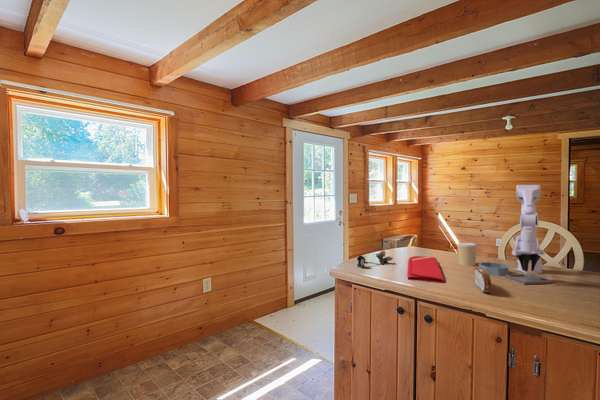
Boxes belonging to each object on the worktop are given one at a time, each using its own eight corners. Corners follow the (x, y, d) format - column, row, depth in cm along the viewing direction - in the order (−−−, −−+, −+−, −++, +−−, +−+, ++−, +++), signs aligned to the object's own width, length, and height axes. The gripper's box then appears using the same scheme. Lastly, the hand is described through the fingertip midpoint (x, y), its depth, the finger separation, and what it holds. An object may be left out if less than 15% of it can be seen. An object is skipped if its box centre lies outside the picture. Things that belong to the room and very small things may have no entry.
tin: (492, 295, 120) (492, 274, 120) (483, 295, 121) (483, 274, 121) (481, 284, 134) (481, 265, 134) (473, 283, 135) (473, 265, 135)
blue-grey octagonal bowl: (495, 269, 159) (495, 261, 159) (514, 276, 147) (515, 267, 147) (473, 270, 158) (473, 262, 157) (491, 277, 145) (491, 268, 145)
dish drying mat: (407, 280, 142) (407, 272, 142) (408, 261, 180) (408, 255, 180) (444, 284, 136) (444, 276, 136) (437, 263, 175) (437, 256, 175)
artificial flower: (353, 268, 168) (352, 250, 171) (386, 268, 177) (384, 251, 180) (363, 267, 160) (362, 248, 163) (396, 267, 170) (395, 249, 172)
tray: (530, 277, 145) (530, 273, 145) (551, 284, 134) (551, 280, 134) (505, 278, 144) (505, 274, 144) (524, 285, 133) (524, 281, 133)
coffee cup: (471, 263, 172) (472, 242, 171) (480, 267, 163) (480, 245, 162) (454, 263, 173) (454, 242, 172) (461, 267, 164) (461, 245, 163)
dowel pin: (527, 275, 140) (528, 259, 140) (532, 277, 138) (533, 260, 137) (523, 275, 140) (523, 259, 140) (527, 277, 137) (528, 260, 137)
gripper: (521, 242, 133) (520, 273, 134) (551, 241, 135) (550, 272, 136) (508, 240, 140) (507, 269, 141) (537, 239, 142) (536, 268, 143)
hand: (527, 270), depth 139 cm, fingers closed on dowel pin, 2 cm apart
